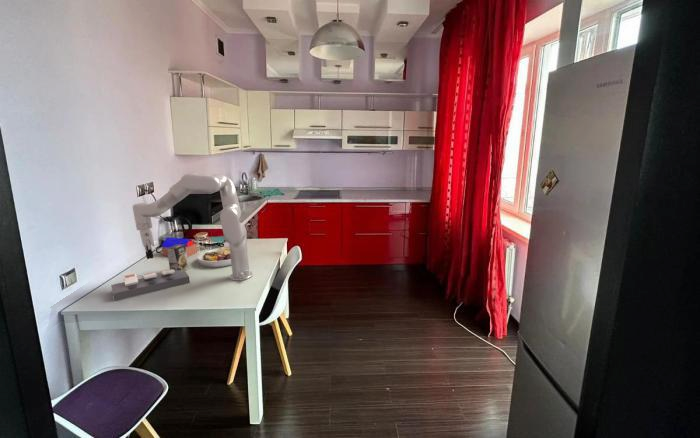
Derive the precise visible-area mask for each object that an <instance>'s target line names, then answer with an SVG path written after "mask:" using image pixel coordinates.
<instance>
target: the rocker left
mask: <svg viewBox="0 0 700 438" xmlns="http://www.w3.org/2000/svg"><path fill="white" fill-rule="evenodd" d="M122 277H123V281H124V282H125V286H130V285H134V284H139V283H138V279H139V278H138V277H137V273H134V274H128V275H124V276H122Z"/></svg>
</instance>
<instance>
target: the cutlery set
mask: <svg viewBox="0 0 700 438" xmlns="http://www.w3.org/2000/svg"><path fill="white" fill-rule="evenodd" d="M209 237H210V238H211V240H212V241H213V242H217V243H218V244H219V243H221V242H223V243H224V242H227V241H226V240H225V238H224V235H218V236H209ZM219 241H220V242H219ZM212 245H214V246H213V247H212V248H211V249H215V248H220V247H221V246H218V245H217V244H216V243H213V244H212Z"/></svg>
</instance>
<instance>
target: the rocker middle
mask: <svg viewBox="0 0 700 438" xmlns="http://www.w3.org/2000/svg"><path fill="white" fill-rule="evenodd" d="M157 275H158V274H157V272H151V273H149V272H148V273H146V274H142V278H144V280H145V279H150V278H154V277H157Z"/></svg>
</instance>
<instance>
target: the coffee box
mask: <svg viewBox="0 0 700 438" xmlns="http://www.w3.org/2000/svg"><path fill="white" fill-rule="evenodd" d="M167 253H168V256H167V259H168V260H167V261H168V266H169V270H172V269H173V270H175V271H178V270H183V269H184V270H185V272H186V271H189V268H190V267H189V264H188V263H189V262H188V257H187V254H186V246H185V244H176V245H174V246H172V247H169V248H167Z"/></svg>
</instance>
